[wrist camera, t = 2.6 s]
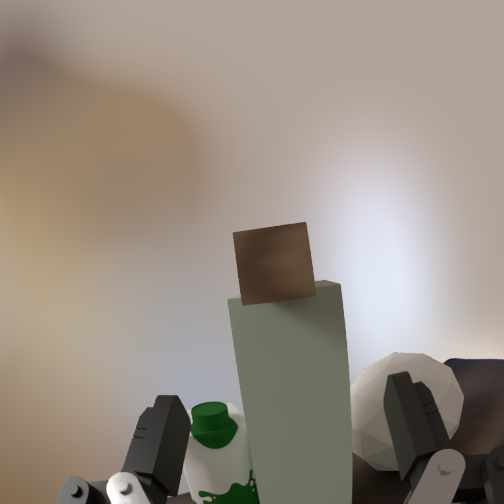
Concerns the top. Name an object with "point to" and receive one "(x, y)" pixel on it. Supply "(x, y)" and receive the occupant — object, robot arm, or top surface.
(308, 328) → the sage stand
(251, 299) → the walnut bar
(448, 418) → the ball
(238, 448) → the milk carton
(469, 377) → the top surface
